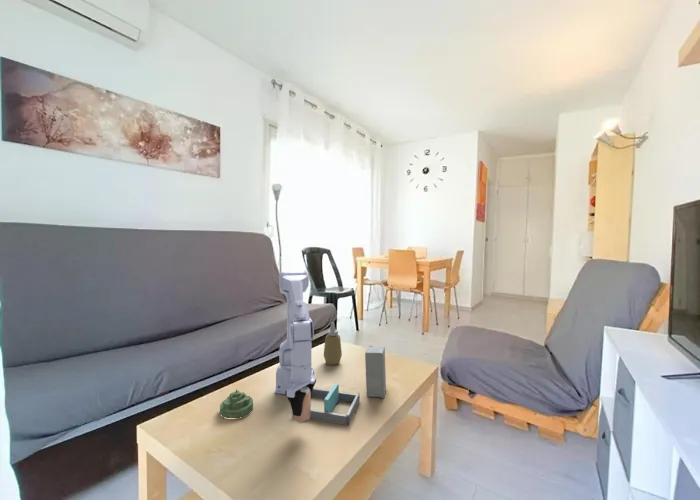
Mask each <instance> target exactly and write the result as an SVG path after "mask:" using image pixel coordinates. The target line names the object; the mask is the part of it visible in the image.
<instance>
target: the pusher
mask: <svg viewBox="0 0 700 500" xmlns="http://www.w3.org/2000/svg"><path fill="white" fill-rule="evenodd" d="M339 388H340V385H339V383H337V382H336V383H334V384H333V386H332V387H331V389H330V392H329V393H328V395H327V396H326V398H323V402H324V403H323V408H324V409H323V411H325V412H331V413H333V411H334V409H335V407H336V406H337V404H338V402H339V401H340V400H339V392H340V389H339Z"/></svg>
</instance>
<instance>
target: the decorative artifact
mask: <svg viewBox="0 0 700 500" xmlns="http://www.w3.org/2000/svg"><path fill="white" fill-rule="evenodd" d="M253 409H254V399H253V398H252V397H251V395H247V394H245V392H240V390H238V389H235V391H233V392H231V393H229V395H228V396H226V398H225V399H224V400H223V401H222V402H221V403H220V404H219V415H220V414H221V415H222V416H223V417H226V418H240V417H243V418H245V417H247V416H249V415H250V414H251V413H252V412H253V411H254V410H253ZM251 411H252V412H251ZM250 412H251V413H250ZM249 413H250V414H249ZM248 414H249V415H248ZM246 415H247V416H246ZM244 416H245V417H244ZM240 419H241V418H240Z"/></svg>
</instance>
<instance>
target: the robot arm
mask: <svg viewBox="0 0 700 500" xmlns="http://www.w3.org/2000/svg"><path fill="white" fill-rule="evenodd" d="M309 278H310V277H309V272H308V270H295V271H292V270H291V271H289V270H288V271H283V270H281V271H280V272H279V273H278V286H279V288H278V289H279V292H280V294H282V295H285V299H286V339H285V340H283V341H282V342H281V343H280V345H279V350H278V355H279V356H278V357H279V358H278V359H279V365H278V367H277V368H276V371H275V391H274V393H275V394H279V395H284V396H285V397H286V398H287V401H288V402H289V405H290V407H291V412H293V415H295V416H301V413H302V407H303V401H304V397H305V395H306V393H305V392H301V390H300V389H301V388H303V387H304V386H307V387H309V389H310V391H311V394H312V390H313V388H315V385H316V383H317V378H315V377H313V376H314V375H315V367H312V341H314V335H315V334H314V333H315V329H314V323H313V320H312V318H311V317H310V313H309V307H308V304H307V303H306V302H305V301H304V293H305V292H306V291H307V289H308V287H309V281H310V280H309Z"/></svg>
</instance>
